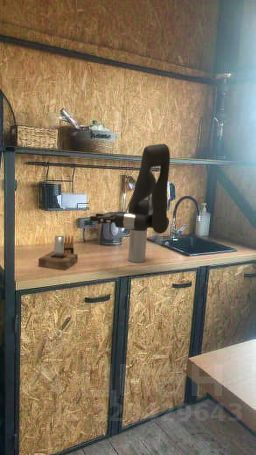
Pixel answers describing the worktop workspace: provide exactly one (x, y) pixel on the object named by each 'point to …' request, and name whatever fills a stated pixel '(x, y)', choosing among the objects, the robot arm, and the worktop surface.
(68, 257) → the walnut socket block
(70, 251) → the ammunition clip
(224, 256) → the worktop surface
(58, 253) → the steel pin
